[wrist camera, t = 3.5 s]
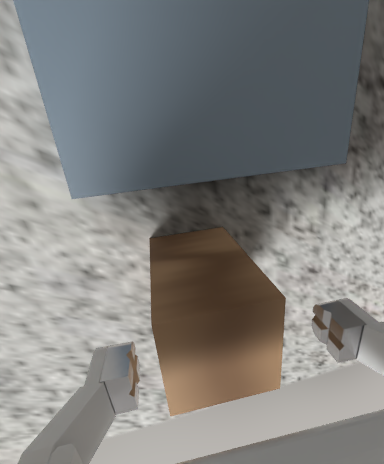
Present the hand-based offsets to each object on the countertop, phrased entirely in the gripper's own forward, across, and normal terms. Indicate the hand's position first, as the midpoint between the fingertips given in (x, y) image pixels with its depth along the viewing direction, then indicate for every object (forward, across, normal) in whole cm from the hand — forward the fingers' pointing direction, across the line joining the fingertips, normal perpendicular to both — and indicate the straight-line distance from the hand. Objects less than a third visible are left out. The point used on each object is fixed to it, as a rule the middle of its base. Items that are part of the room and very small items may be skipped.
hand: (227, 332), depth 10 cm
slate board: (+7, -1, -12) cm, 14 cm away
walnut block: (+7, +1, 0) cm, 7 cm away
